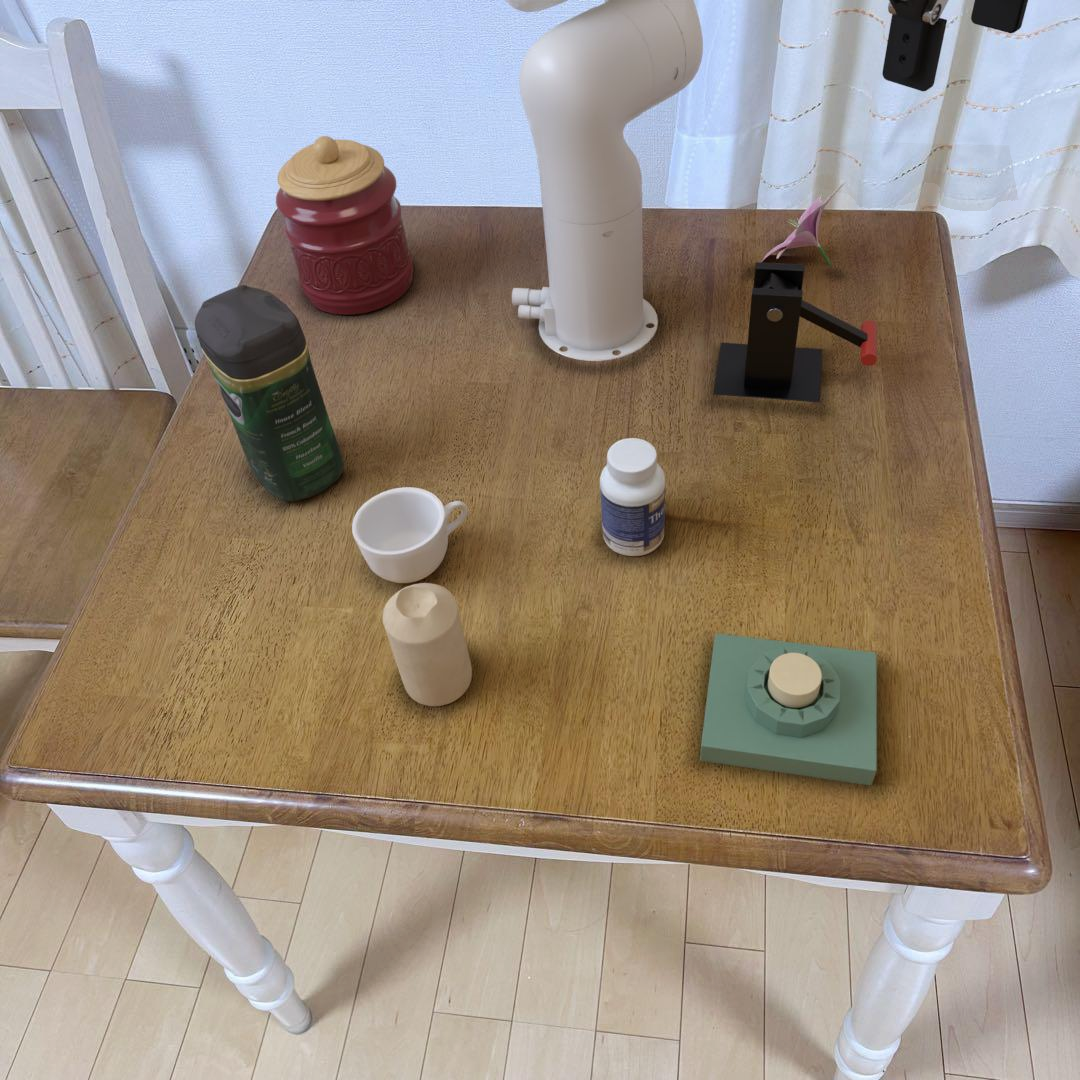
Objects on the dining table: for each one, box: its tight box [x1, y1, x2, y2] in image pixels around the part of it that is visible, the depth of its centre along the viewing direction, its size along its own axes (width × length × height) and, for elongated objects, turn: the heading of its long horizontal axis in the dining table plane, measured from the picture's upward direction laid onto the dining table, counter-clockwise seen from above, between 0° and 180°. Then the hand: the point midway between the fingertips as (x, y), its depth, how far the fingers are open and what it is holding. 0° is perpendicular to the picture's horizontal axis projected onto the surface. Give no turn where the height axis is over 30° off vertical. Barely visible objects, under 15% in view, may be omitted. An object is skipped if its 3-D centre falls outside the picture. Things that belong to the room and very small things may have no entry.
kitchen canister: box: [275, 135, 414, 316], centre depth 111 cm, size 13×13×18 cm
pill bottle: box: [599, 437, 667, 557], centre depth 85 cm, size 5×5×10 cm
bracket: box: [712, 261, 823, 403], centre depth 96 cm, size 10×8×12 cm
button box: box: [699, 632, 878, 786], centre depth 74 cm, size 12×10×4 cm
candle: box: [382, 582, 473, 707], centre depth 77 cm, size 6×6×10 cm
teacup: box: [351, 486, 469, 584], centre depth 87 cm, size 10×8×5 cm
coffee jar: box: [194, 284, 345, 502], centre depth 91 cm, size 10×8×19 cm
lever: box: [760, 273, 878, 367], centre depth 94 cm, size 12×5×2 cm, turn 78°
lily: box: [760, 181, 847, 267], centre depth 110 cm, size 12×12×10 cm
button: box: [768, 653, 822, 708], centre depth 73 cm, size 4×4×2 cm
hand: (952, 54), depth 63 cm, fingers open, 9 cm apart
